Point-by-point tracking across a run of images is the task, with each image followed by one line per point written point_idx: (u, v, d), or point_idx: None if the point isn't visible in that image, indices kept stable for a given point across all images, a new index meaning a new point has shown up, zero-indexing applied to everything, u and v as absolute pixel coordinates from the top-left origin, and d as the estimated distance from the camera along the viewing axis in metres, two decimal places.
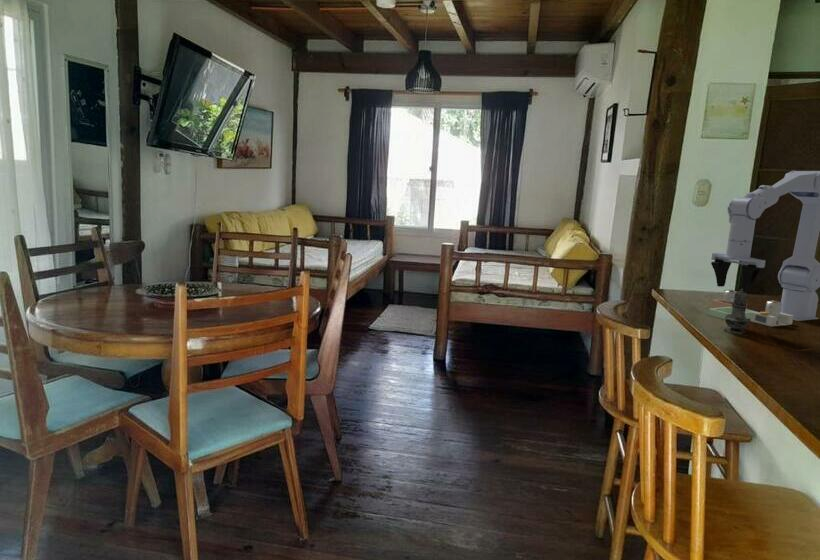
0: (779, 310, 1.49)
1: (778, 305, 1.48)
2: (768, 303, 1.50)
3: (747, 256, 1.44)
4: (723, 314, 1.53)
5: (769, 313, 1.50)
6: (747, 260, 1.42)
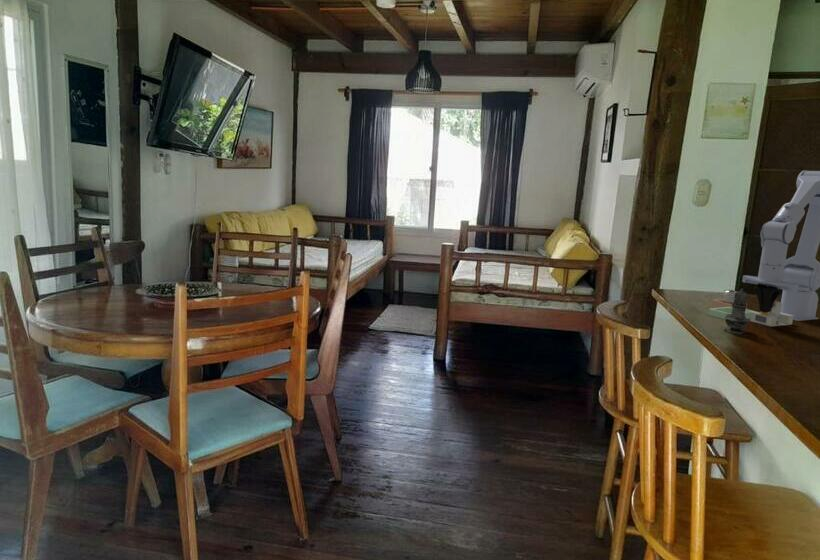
0: (779, 310, 1.49)
1: (778, 305, 1.48)
2: None
3: (779, 280, 1.45)
4: (723, 314, 1.53)
5: (769, 313, 1.50)
6: (780, 284, 1.43)
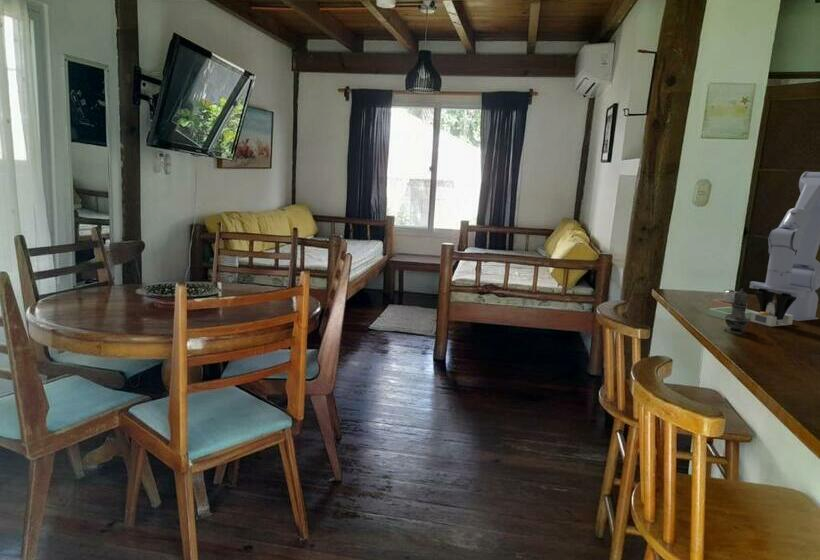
0: None
1: None
2: (768, 303, 1.50)
3: (787, 286, 1.47)
4: (723, 314, 1.53)
5: (769, 313, 1.50)
6: (787, 290, 1.45)
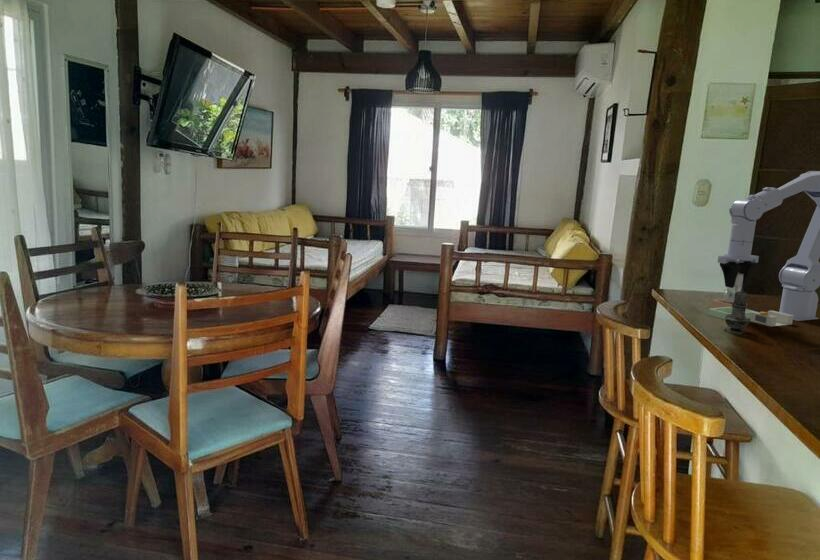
0: None
1: None
2: None
3: (732, 254, 1.52)
4: (723, 314, 1.53)
5: None
6: None
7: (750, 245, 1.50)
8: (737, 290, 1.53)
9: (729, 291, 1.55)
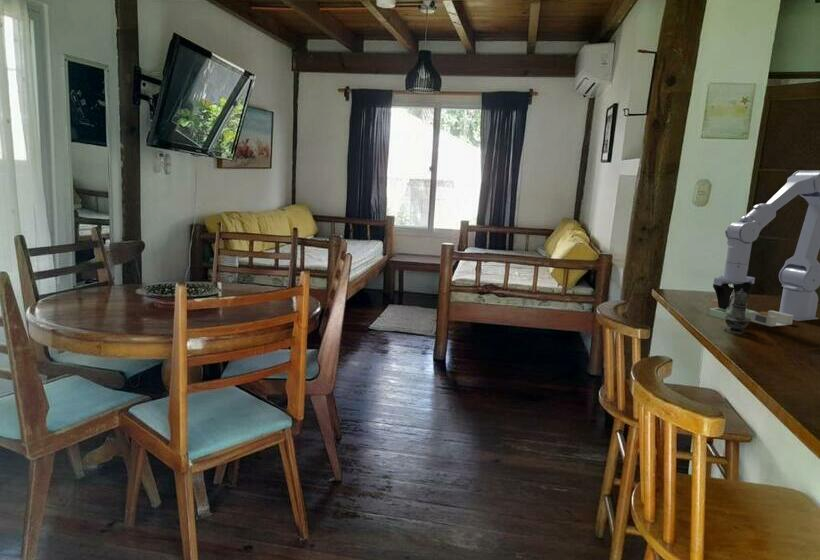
0: None
1: None
2: None
3: (728, 276, 1.54)
4: (723, 314, 1.53)
5: None
6: None
7: (746, 267, 1.52)
8: None
9: None
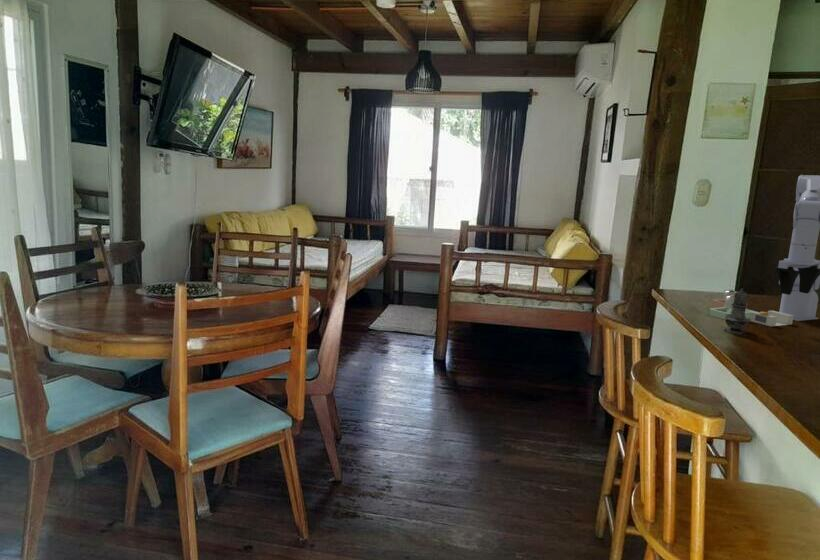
0: (727, 303, 1.55)
1: (726, 298, 1.56)
2: None
3: (793, 259, 1.43)
4: (723, 314, 1.53)
5: None
6: None
7: (814, 249, 1.41)
8: None
9: None
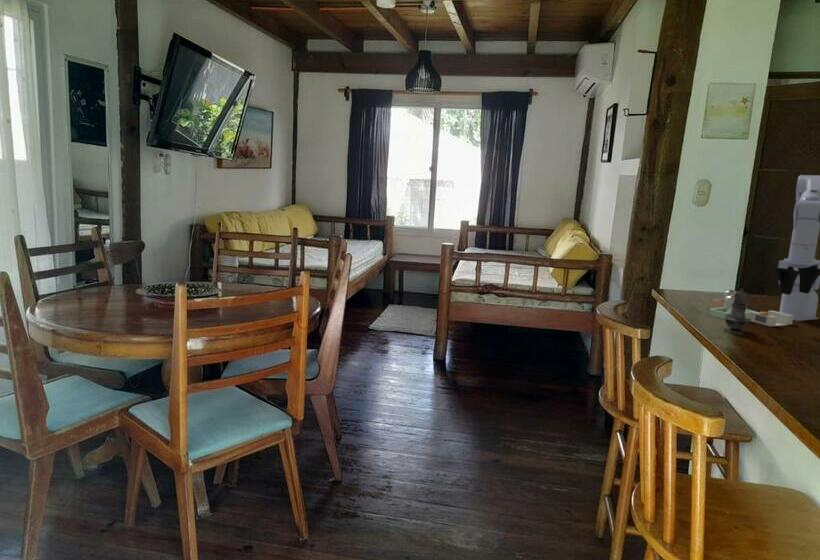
0: (727, 303, 1.55)
1: (726, 298, 1.56)
2: None
3: (793, 259, 1.43)
4: (723, 314, 1.53)
5: None
6: None
7: (814, 249, 1.41)
8: None
9: None
